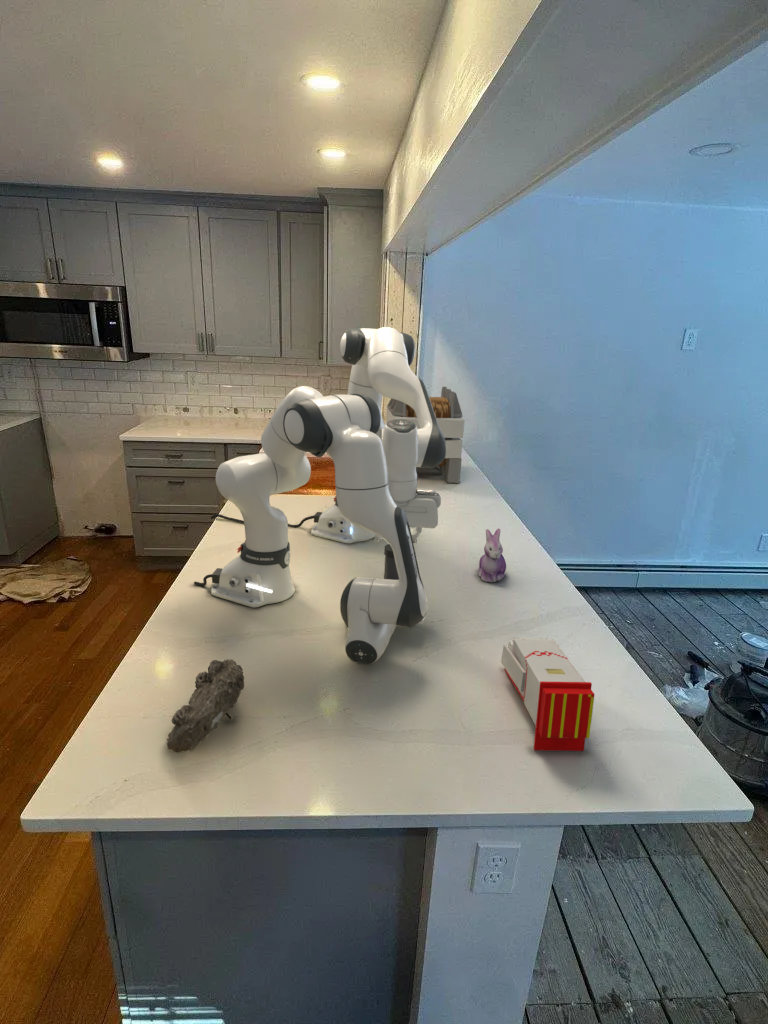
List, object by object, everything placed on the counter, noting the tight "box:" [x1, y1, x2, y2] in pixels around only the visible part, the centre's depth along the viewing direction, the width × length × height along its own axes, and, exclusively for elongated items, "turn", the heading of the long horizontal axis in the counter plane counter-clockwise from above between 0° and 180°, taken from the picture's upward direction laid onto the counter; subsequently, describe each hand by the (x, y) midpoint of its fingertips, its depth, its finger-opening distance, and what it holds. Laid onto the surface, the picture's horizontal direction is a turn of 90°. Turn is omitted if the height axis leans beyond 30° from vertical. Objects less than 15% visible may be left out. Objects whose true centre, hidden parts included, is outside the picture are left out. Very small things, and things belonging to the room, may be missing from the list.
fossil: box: [166, 658, 245, 754], centre depth 106 cm, size 22×10×15 cm
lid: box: [383, 543, 394, 558], centre depth 142 cm, size 5×5×2 cm
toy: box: [500, 637, 595, 752], centre depth 114 cm, size 12×13×30 cm
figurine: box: [477, 527, 507, 583], centre depth 168 cm, size 9×10×15 cm
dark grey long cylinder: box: [383, 555, 399, 580], centre depth 145 cm, size 5×5×18 cm
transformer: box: [385, 386, 465, 484], centre depth 268 cm, size 34×33×41 cm
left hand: (393, 591), depth 147 cm, fingers closed on dark grey long cylinder, 5 cm apart
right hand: (395, 541), depth 141 cm, fingers open, 7 cm apart
